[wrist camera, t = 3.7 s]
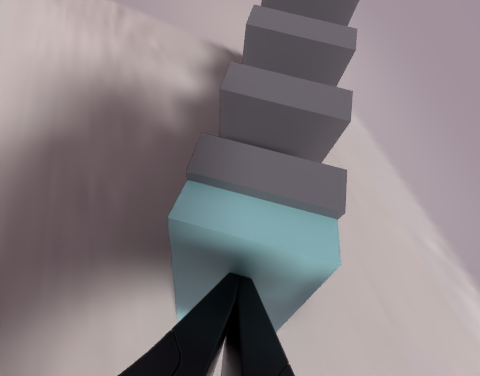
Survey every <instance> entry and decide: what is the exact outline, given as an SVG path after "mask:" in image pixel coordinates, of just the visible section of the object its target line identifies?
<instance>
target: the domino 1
mask: <svg viewBox="0 0 480 376" xmlns="http://www.w3.org/2000/svg"><path fill="white" fill-rule="evenodd" d="M358 1H359V0H262V4H261V6H262V7H266V8H271V9H275V10H279V11H283V12H288V13H292V14H296V15H300V16H305V17H309V18H313V19H317V20H322V21H326V22H330V23H334V24H339V25H343V26H348V23H349V21H350V19H351V17H352V15H353V12H354V10H355V8H356V6H357V3H358Z"/></svg>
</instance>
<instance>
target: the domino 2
mask: <svg viewBox="0 0 480 376" xmlns="http://www.w3.org/2000/svg"><path fill="white" fill-rule="evenodd" d="M356 36H357V29H356V28H351V27H347V26H343V25H339V24H334V23H330V22H326V21H322V20H317V19H313V18H309V17H305V16H300V15H296V14H292V13H288V12H283V11H279V10H275V9H271V8H266V7H262V6H258V5H254V6H253V8H252V11H251V13H250V16H249V18H248V21H247V23H246V31H245V40H244V50H243V60H242V64H244V65H248V66H252V67H256V68H260V69H264V70H268V71H272V72H276V73H280V74H285V75H289V76H293V77H297V78H301V79H305V80H309V81H313V82H317V83H321V84H325V85H330V86H334V87H336V86H337V84H338V82H339V80H340V78H341V77H342V75H343V73H344V71H345V69H346V67H347V65H348V63H349V62H350V60H351V58H352V56H353V54H354V52H355V50H356Z"/></svg>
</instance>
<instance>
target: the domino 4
mask: <svg viewBox="0 0 480 376" xmlns="http://www.w3.org/2000/svg"><path fill="white" fill-rule="evenodd" d="M186 174H187V180H190V181H194V182H198V183H202V184H205V185H209V186H213V187H217V188H221V189H224V190H228V191H232V192H236V193H239V194H243V195H247V196H251V197H255V198H258V199H262V200H266V201H270V202H273V203H277V204H281V205H285V206H288V207H292V208H296V209H300V210H304V211H307V212H311V213H315V214H319V215H322V216H326V217H330V218H334V219H339V218H340V217H341V216H342V215H343V214H345V204H346V183H347V170H345V169H341V168H337V167H333V166H330V165H326V164H322V163H318V162H314V161H310V160H306V159H302V158H298V157H295V156H291V155H287V154H283V153H279V152H275V151H271V150H267V149H263V148H260V147H256V146H252V145H248V144H244V143H240V142H236V141H232V140H229V139H225V138H221V137H217V136H213V135H209V134H205V133H202V134H201V137H200V139H199V141H198V144H197V146H196V148H195V151H194V153H193V155H192V158H191V160H190V163H189V165H188V167H187V170H186Z"/></svg>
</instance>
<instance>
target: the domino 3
mask: <svg viewBox="0 0 480 376" xmlns="http://www.w3.org/2000/svg"><path fill="white" fill-rule="evenodd" d="M352 93H353V91H350V90H346V89H342V88H338V87H334V86H330V85H325V84H321V83H317V82H313V81H309V80H305V79H301V78H297V77H293V76H289V75H285V74H280V73H276V72H272V71H268V70H264V69H260V68H256V67H252V66H248V65H244V64H240V63H236V62H231V63H230V65H229V68H228V70H227V72H226V75H225V77H224V80H223V82H222V85H221V87H220V127H219V137H221V138H225V139H229V140H232V141H236V142H240V143H244V144H248V145H252V146H256V147H260V148H263V149H267V150H271V151H275V152H279V153H283V154H287V155H291V156H295V157H298V158H302V159H306V160H310V161H314V162H318V163H322V161H323V160H324V158H325V157H326V156H327V154H328V153H329V151H330V150H331V149H332V147H333V146H334V144H335V143H336V141H337V140H338V139H339V137H340V136H341V134H342V133H343V132H344V130H345V129H346V127H347V126H348V124H349V123H350V122H351V109H352V95H353V94H352Z"/></svg>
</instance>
